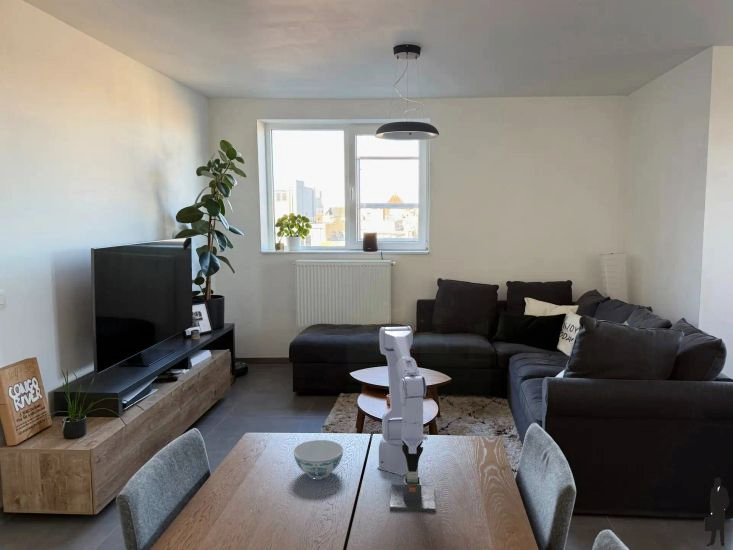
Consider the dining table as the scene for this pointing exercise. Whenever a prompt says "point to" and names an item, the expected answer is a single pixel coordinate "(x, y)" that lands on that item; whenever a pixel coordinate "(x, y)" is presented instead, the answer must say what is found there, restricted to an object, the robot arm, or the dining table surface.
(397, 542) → the dining table surface
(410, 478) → the column
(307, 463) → the chinaware
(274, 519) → the dining table surface
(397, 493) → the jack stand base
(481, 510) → the dining table surface
